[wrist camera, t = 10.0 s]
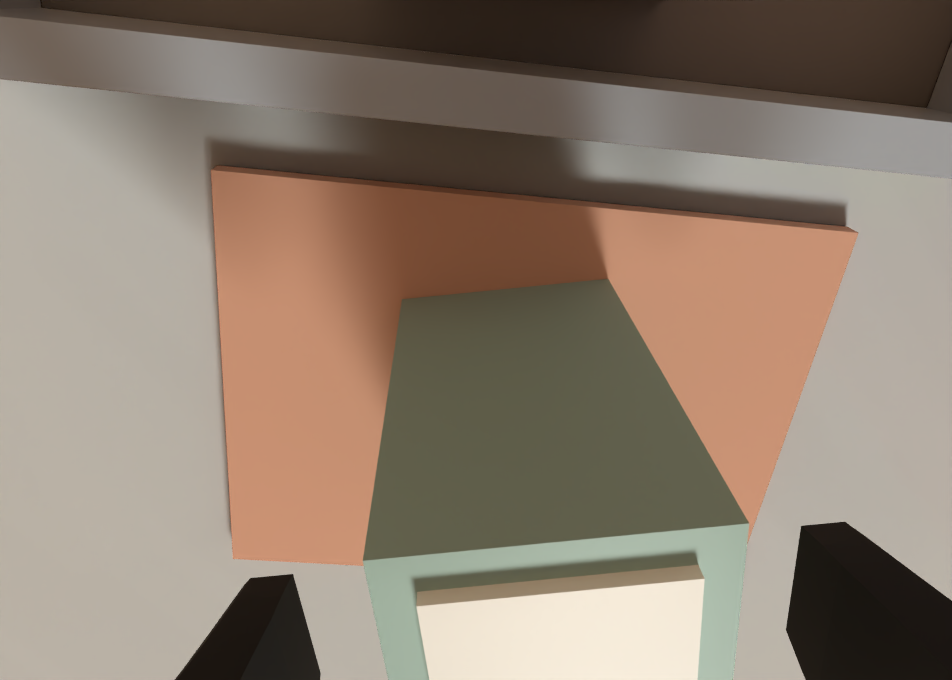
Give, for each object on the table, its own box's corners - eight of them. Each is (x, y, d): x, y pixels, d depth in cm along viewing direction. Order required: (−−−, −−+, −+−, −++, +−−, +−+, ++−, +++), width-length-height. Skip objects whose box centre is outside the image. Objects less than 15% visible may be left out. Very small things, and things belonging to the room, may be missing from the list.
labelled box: (608, 278, 13) (757, 536, 7) (609, 486, 16) (724, 828, 9) (401, 299, 13) (360, 575, 7) (432, 503, 16) (422, 857, 9)
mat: (847, 227, 14) (858, 233, 13) (726, 573, 18) (732, 585, 17) (217, 165, 13) (210, 170, 12) (237, 546, 17) (233, 558, 16)
